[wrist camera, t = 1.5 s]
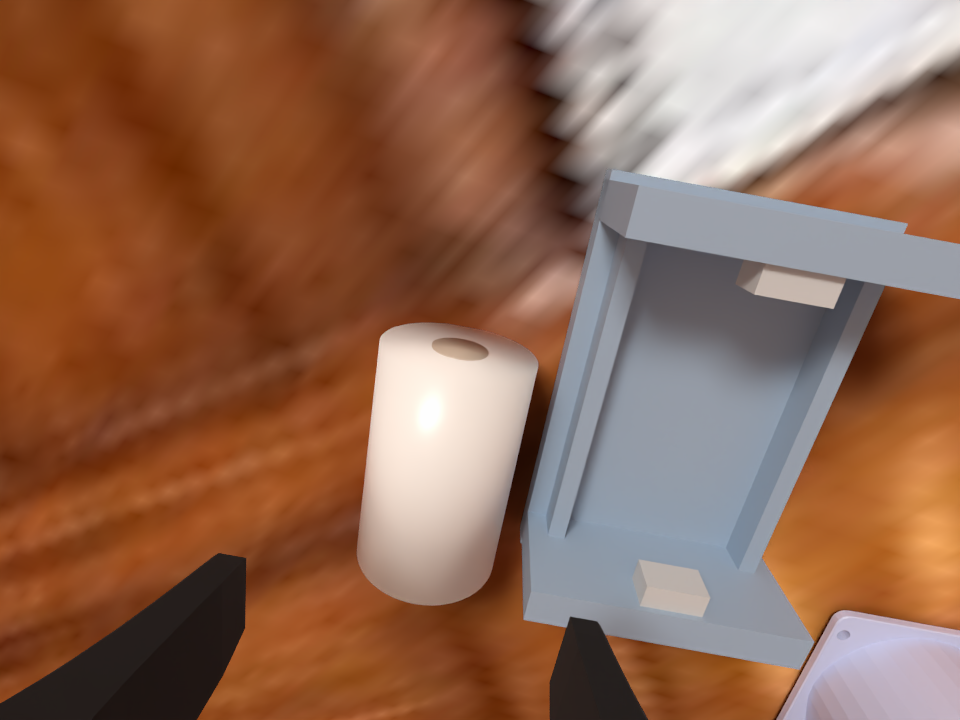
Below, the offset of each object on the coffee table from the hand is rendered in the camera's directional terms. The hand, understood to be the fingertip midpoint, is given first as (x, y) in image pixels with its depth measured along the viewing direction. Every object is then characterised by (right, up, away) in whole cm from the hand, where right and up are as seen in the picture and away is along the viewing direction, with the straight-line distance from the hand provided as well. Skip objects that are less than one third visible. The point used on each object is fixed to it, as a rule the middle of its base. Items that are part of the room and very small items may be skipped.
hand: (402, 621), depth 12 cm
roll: (+1, +3, +9) cm, 9 cm away
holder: (+9, +5, +8) cm, 13 cm away
